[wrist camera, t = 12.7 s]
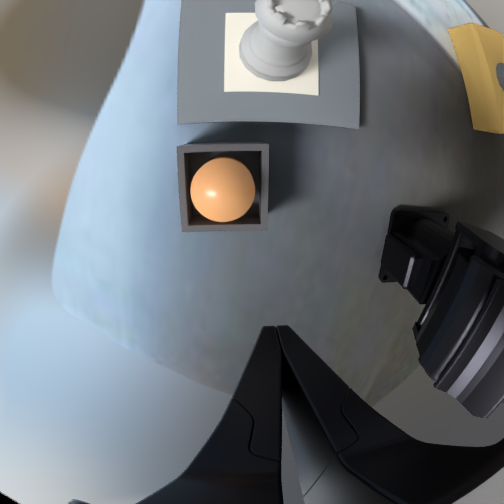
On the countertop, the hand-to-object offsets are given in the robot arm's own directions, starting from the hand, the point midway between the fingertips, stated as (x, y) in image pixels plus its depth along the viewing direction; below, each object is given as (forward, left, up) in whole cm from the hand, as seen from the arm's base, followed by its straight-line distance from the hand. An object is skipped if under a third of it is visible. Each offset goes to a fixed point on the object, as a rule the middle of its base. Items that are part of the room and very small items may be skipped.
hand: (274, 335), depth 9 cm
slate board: (-1, -12, -12) cm, 17 cm away
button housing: (+2, -3, -12) cm, 12 cm away
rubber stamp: (-21, -15, -12) cm, 29 cm away
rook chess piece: (-1, -12, -11) cm, 16 cm away
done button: (+2, -3, -11) cm, 11 cm away
